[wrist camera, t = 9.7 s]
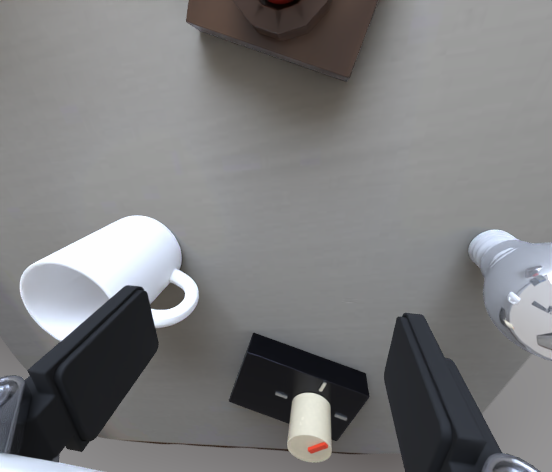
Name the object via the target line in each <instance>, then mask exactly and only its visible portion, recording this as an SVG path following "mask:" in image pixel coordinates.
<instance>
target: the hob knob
mask: <svg viewBox="0 0 552 472" xmlns="http://www.w3.org/2000/svg"><path fill="white" fill-rule="evenodd" d="M287 447H288V450H289V452H290V453H291V454H292V455H293V456H295V457H296V458H298V459H300V460H303V461H307V462H321V461H324V460H327V459H328V458H329V457H330V455H331V452H332V447H331V407H330V404H329V402H328V401H327V400H326V399H325V398H324V397H322V396H320V395H318V394H315V393H302V394H299V395H297V396H296V397H294V399H293V401H292V406H291V415H290V424H289V433H288V441H287Z"/></svg>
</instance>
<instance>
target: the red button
mask: <svg viewBox="0 0 552 472" xmlns="http://www.w3.org/2000/svg"><path fill="white" fill-rule="evenodd" d="M267 1H269V2H271V3H274V4H286V3H289V2H291V1H293V0H267Z"/></svg>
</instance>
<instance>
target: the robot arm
mask: <svg viewBox="0 0 552 472" xmlns="http://www.w3.org/2000/svg"><path fill="white" fill-rule="evenodd" d="M157 349H158V338H157V334H156V329H155V325H154V320H153V316H152V311H151V307H150V302H149V298H148V293H147V292H146V291H144V288H143V287H141V286H131V285H126V286H124V287H123V288H122V289H121V290H119V291H118V292H117V293H116V294H115V295H114V296H113V297H111V298H110V299H109V300H108V301H107V302H106V303H105V304H103V305H102V306H101V307H100V308H99V309H98V310H96V311H95V312H94V313H93V314H92V315H91V316H90V317H88V318H87V319H86V320H85V321H84V322H83V323H81V324H80V325H79V326H78V327H77V328H76V329H75V330H73V331H72V332H71V333H70V334H69V335H68V336H66V337H65V338H64V339H63V340H62V341H61V342H60V343H58V344H57V345H56V346H55V347H54V348H53V349H52V350H50V351H49V352H48V353H47V354H46V355H45V356H43V357H42V358H41V359H40V360H39V361H38V362H37V363H35V364H34V365H33V366H32V367H31V368H30V369H28V370H27V371H28V373H29V375H30V376H29V377H28V378H27V379H26V380H24V379H23V378H22V377H20V376H16V375H12V376H5V377H1V378H0V472H104V471H99V470H94V469H89V468H84V467H79V466H74V465H69V464H64V463H59V454H60V452H61V451H62V450H63V448H64V447H65V446H66V448H67V449H70V450H75V451H80V452H82V451H83V450H84V449H85V447H86V446H87V444H88V443H89V441H92V440H94V439H95V438H96V437H97V436H98V434H99V433H100V431H101V430H102V429H103V427H104V426H105V424H106V423H107V421H108V420H109V419H110V417H111V416H112V414H113V413H114V411H115V410H116V409H117V407H118V406H119V404H120V403H121V401H122V400H123V399H124V397H125V396H126V394H127V393H128V391H129V390H130V389H131V387H132V386H133V384H134V383H135V381H136V380H137V379H138V377H139V376H140V374H141V373H142V371H143V370H144V369H145V367H146V366H147V364H148V363H149V361H150V360H151V359H152V357H153V356H154V354H155V353H156V351H157ZM384 381H385V386H386V390H387V395H388V399H389V403H390V408H391V412H392V416H393V421H394V425H395V429H396V434H397V438H398V442H399V447H400V451H401V455H402V460H403V464H404V468H405V472H540V471H539V470H538V469H536V468H535V467H534V466H533V465H531V464H529V463H527V462H525V461H524V460H522V459H520V458H518V457H515V456H513V455H509V454H503V453H502V452H501V450H500V448H499V446H498V444H497V442H496V440H495V439H494V437H493V435H492V433H491V431H490V429H489V427H488V425H487V424H486V421H485V420H484V418H483V416H482V414H481V412H480V410H479V408H478V406H477V404H476V403H475V401H474V399H473V397H472V395H471V393H470V391H469V389H468V387H467V386H466V384H465V382H464V380H463V378H462V376H461V374H460V372H459V370H458V369H457V367H456V365H455V363H454V362H453V361H452V360H451V359H448V358H445V357H444V355H443V353H442V351H441V349H440V347H439V345H438V343H437V341H436V339H435V337H434V335H433V333H432V331H431V329H430V327H429V325H428V323H427V321H426V319H425V317H424V316H423V315H420V314H410V313H404V314H403V316H402V317H397V320H396V324H395V328H394V333H393V337H392V341H391V346H390V350H389V354H388V359H387V363H386V367H385V372H384Z"/></svg>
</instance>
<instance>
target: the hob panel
mask: <svg viewBox="0 0 552 472" xmlns="http://www.w3.org/2000/svg"><path fill="white" fill-rule="evenodd" d="M302 393H315V394H318V395H320V396H322V397H324V398H325V399H326V400H327V401H328V402H329V404H330V407H331V439H332V440H335V441H337V440H338V439H339V438H340V436H341V435H342V434H343V432H344V431H345V429H346V428H347V427H348V425H349V424H350V423H351V421H352V420H353V419H354V417H355V416H356V414H357V413H358V412H359V410H360V409H361V408H362V406H363V405H364V404H365V402H366V401H367V399H368V398H369V391H368V385H367V378H366V374H365V373H363V372H360V371H358V370H355V369H352V368H349V367H347V366H344V365H341V364H338V363H336V362H333V361H330V360H327V359H325V358H322V357H319V356H316V355H314V354H311V353H308V352H305V351H303V350H300V349H297V348H294V347H292V346H289V345H286V344H283V343H281V342H278V341H275V340H272V339H270V338H267V337H264V336H261V335H259V334H256V333H253V335H252V338H251V340H250V343H249V346H248V348H247V351H246V354H245V356H244V359H243V362H242V364H241V367H240V370H239V373H238V375H237V378H236V381H235V384H234V387H233V390H232V393H231V396H230V399H229V402H232V403H234V404H237V405H240V406H242V407H245V408H248V409H251V410H253V411H256V412H259V413H261V414H264V415H267V416H269V417H272V418H275V419H278V420H280V421H283V422H286V423H288V424H290V415H291V406H292V401H293V399H294V397H296V396H297V395H299V394H302Z"/></svg>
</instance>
